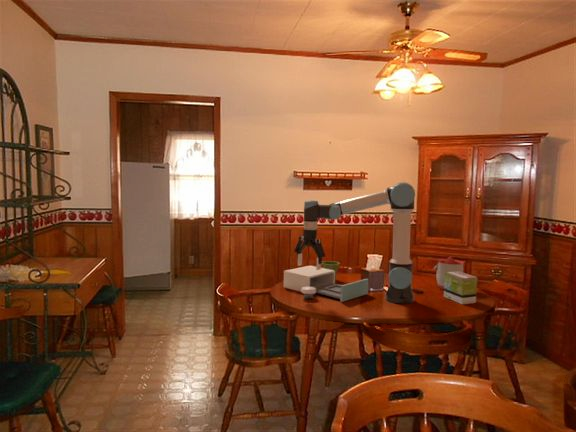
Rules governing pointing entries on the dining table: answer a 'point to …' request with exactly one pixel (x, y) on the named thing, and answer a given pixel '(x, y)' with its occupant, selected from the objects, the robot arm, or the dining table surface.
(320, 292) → the drawer
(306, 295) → the grey knob
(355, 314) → the dining table surface
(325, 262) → the plant pot
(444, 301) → the dining table surface
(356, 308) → the dining table surface
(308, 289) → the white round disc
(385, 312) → the dining table surface
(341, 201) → the robot arm
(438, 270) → the citrus juicer
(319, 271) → the white drawer box
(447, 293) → the tea box
